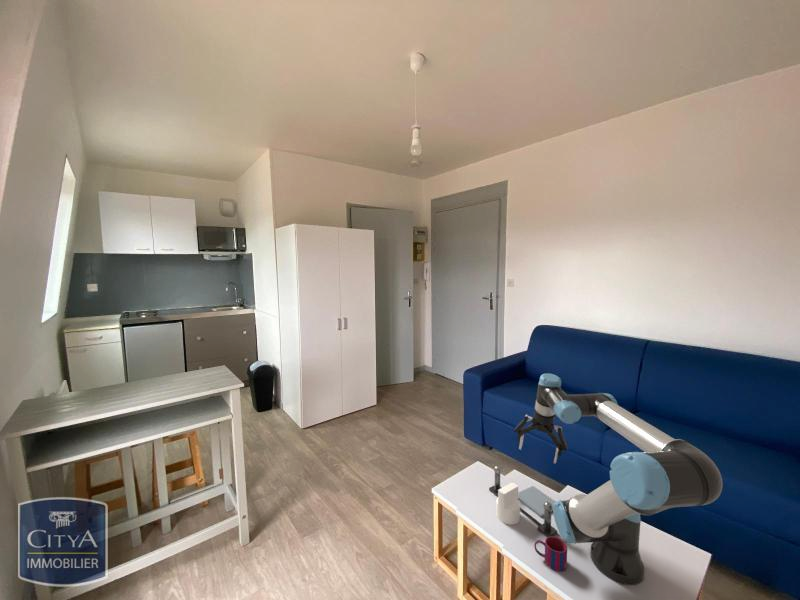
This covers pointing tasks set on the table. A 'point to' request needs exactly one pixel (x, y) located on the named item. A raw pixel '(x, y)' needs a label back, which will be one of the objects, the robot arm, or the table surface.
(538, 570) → the table surface
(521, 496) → the slate mat
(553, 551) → the mug
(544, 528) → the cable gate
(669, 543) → the table surface
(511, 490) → the base with upright slab
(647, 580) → the table surface
